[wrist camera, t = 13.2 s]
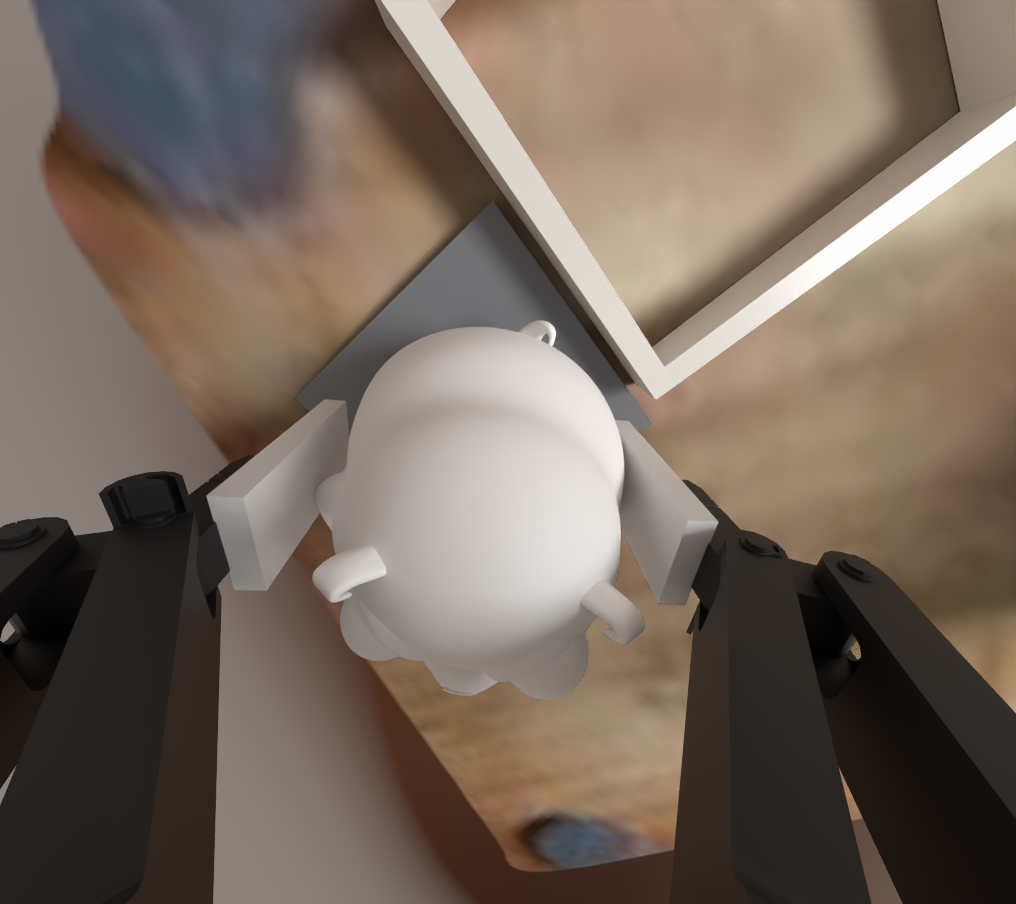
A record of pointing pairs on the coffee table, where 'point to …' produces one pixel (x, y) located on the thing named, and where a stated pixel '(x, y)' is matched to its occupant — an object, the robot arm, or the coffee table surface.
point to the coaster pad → (470, 316)
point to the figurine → (480, 514)
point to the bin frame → (791, 270)
